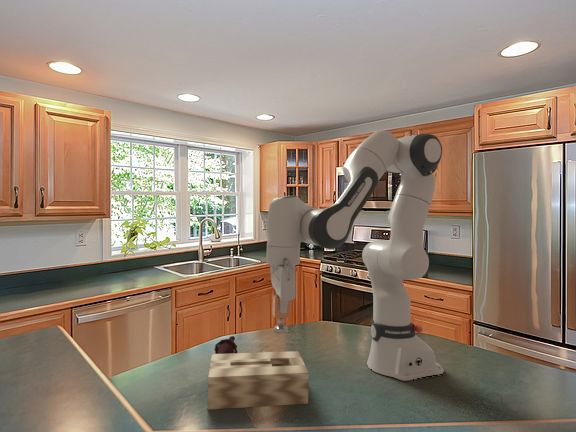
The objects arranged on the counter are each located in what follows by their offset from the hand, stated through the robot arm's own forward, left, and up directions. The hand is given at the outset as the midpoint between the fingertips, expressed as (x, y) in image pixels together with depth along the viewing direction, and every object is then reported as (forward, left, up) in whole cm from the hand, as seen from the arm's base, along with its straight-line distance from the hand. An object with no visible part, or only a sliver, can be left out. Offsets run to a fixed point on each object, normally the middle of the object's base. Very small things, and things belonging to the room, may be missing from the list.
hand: (281, 309), depth 91 cm
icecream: (+14, -21, -21) cm, 33 cm away
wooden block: (0, 0, -6) cm, 6 cm away
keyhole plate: (+6, 0, -21) cm, 22 cm away
